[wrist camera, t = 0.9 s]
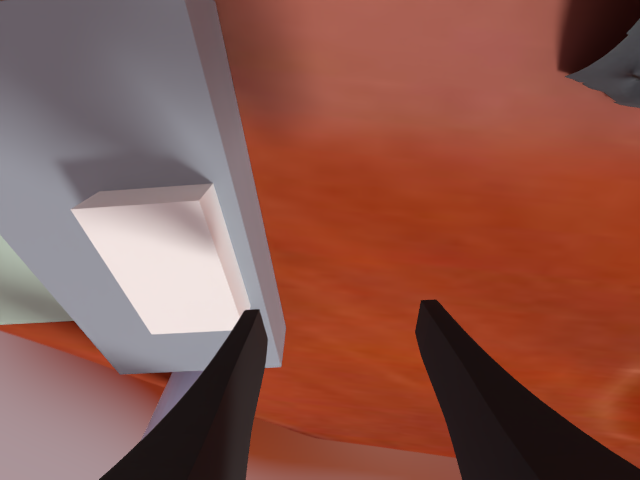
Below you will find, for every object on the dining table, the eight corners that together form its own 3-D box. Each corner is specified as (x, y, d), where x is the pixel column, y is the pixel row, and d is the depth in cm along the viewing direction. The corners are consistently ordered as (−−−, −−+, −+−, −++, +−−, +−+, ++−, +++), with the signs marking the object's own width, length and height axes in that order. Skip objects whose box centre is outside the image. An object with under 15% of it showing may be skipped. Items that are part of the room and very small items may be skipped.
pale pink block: (250, 305, 19) (244, 329, 17) (165, 310, 19) (151, 334, 18) (213, 183, 14) (199, 200, 12) (99, 191, 14) (70, 209, 13)
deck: (285, 327, 26) (281, 367, 23) (144, 335, 27) (119, 374, 24) (215, 1, 13) (180, -17, 10) (-63, 28, 14) (-186, 18, 10)
